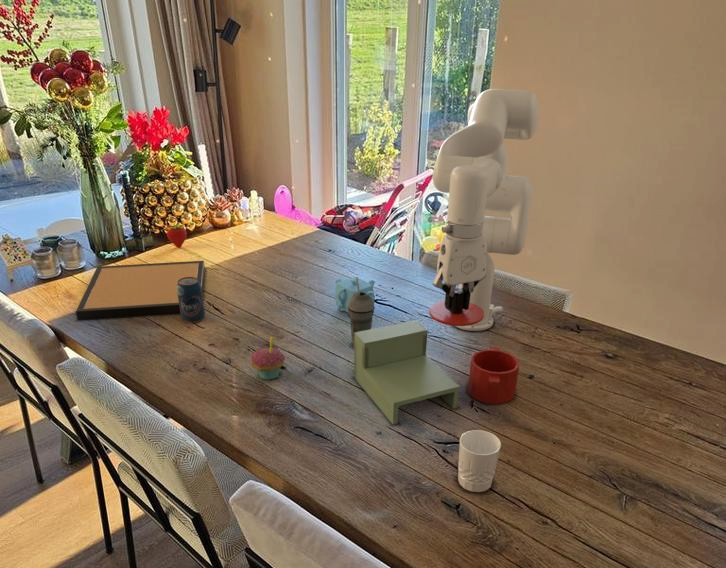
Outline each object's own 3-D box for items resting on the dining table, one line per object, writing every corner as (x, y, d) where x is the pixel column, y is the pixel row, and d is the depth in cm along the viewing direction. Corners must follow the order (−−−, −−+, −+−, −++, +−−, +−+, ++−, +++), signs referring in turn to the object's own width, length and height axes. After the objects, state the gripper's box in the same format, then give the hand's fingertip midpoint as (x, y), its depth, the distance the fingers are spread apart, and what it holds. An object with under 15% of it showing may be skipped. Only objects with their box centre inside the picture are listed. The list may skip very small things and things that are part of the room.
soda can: (184, 325, 183) (177, 287, 177) (179, 315, 189) (173, 278, 182) (207, 321, 186) (202, 283, 179) (202, 311, 191) (197, 274, 185)
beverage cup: (371, 353, 170) (372, 284, 160) (345, 350, 172) (344, 281, 161) (376, 340, 176) (377, 273, 166) (350, 337, 178) (350, 271, 167)
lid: (483, 307, 146) (486, 282, 143) (483, 330, 136) (486, 304, 132) (431, 302, 148) (433, 278, 144) (426, 326, 138) (428, 300, 134)
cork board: (200, 312, 191) (205, 268, 220) (199, 303, 189) (203, 260, 219) (77, 320, 186) (99, 274, 215) (75, 311, 184) (97, 266, 213)
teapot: (321, 306, 195) (320, 275, 190) (356, 294, 202) (356, 264, 197) (357, 326, 183) (357, 295, 178) (393, 313, 191) (394, 282, 185)
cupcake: (291, 369, 163) (288, 328, 156) (276, 386, 156) (273, 344, 149) (261, 364, 165) (257, 323, 159) (245, 380, 158) (241, 338, 152)
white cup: (451, 469, 130) (455, 430, 124) (489, 467, 130) (495, 429, 125) (459, 495, 123) (464, 455, 118) (499, 493, 124) (505, 453, 118)
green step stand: (457, 407, 149) (462, 360, 142) (392, 424, 143) (394, 376, 136) (413, 364, 166) (416, 319, 158) (354, 377, 160) (354, 332, 153)
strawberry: (166, 247, 237) (161, 221, 232) (184, 243, 241) (180, 217, 236) (173, 252, 233) (169, 225, 228) (191, 247, 237) (188, 221, 232)
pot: (514, 375, 161) (518, 346, 156) (514, 412, 147) (520, 381, 143) (469, 371, 163) (472, 342, 158) (465, 407, 149) (469, 376, 144)
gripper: (440, 239, 125) (433, 322, 135) (507, 228, 131) (496, 309, 141) (421, 228, 131) (416, 308, 141) (486, 218, 137) (477, 296, 147)
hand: (456, 308), depth 141 cm, fingers closed on lid, 2 cm apart
